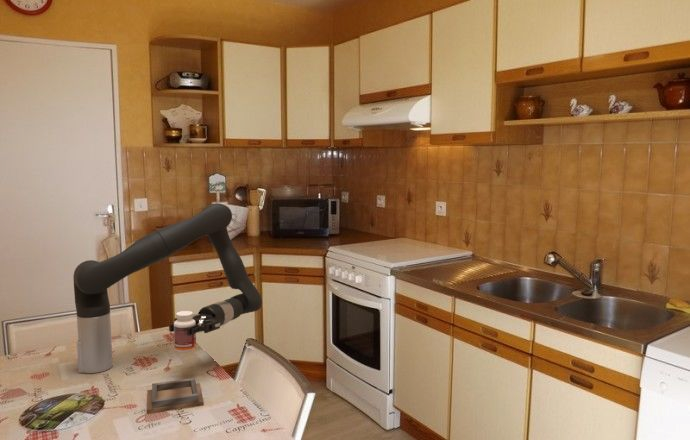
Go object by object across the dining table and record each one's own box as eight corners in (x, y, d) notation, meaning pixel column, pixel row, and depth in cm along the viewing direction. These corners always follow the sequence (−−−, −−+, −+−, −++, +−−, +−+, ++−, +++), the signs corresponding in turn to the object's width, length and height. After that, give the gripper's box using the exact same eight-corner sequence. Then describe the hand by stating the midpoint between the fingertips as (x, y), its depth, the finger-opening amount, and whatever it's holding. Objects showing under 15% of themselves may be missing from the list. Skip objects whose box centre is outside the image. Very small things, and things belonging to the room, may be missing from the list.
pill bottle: (199, 350, 153) (198, 314, 151) (177, 354, 149) (177, 317, 148) (192, 344, 158) (191, 308, 157) (171, 348, 155) (171, 311, 153)
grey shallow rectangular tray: (146, 413, 132) (146, 403, 132) (147, 393, 144) (147, 383, 143) (203, 405, 137) (203, 395, 137) (199, 386, 148) (199, 376, 148)
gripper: (198, 300, 168) (159, 314, 153) (234, 306, 162) (198, 321, 147) (198, 323, 169) (160, 338, 154) (234, 330, 163) (198, 347, 148)
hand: (179, 330), depth 151 cm, fingers closed on pill bottle, 6 cm apart
